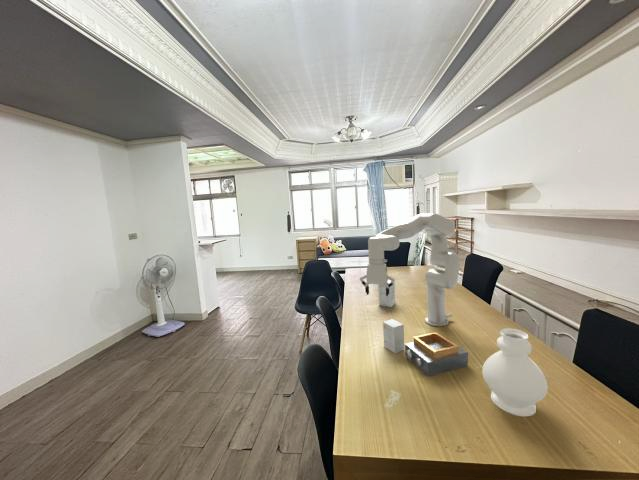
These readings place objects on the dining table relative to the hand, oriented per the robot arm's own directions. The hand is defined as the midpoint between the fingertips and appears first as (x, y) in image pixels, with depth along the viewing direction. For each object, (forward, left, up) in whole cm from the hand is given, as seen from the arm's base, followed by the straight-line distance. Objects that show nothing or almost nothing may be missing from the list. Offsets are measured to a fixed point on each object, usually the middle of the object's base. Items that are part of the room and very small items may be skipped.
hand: (377, 294), depth 134 cm
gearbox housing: (-15, +24, -26) cm, 38 cm away
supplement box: (-31, -45, -26) cm, 61 cm away
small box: (-4, +8, -26) cm, 27 cm away
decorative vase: (-22, +54, -26) cm, 63 cm away
